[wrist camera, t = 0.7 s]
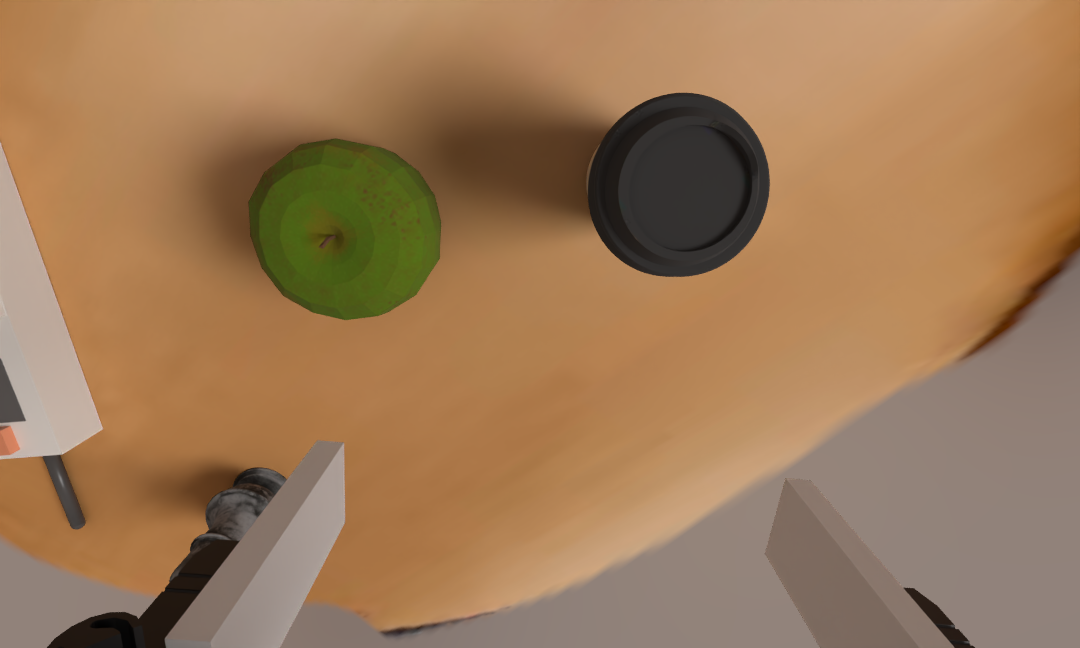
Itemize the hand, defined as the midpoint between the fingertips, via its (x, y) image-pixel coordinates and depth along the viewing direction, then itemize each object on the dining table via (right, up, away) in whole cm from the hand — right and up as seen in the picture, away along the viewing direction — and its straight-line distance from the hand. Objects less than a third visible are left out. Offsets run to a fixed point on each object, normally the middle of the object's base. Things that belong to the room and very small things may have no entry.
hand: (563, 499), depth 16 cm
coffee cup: (+6, +16, +23) cm, 29 cm away
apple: (-13, +13, +24) cm, 30 cm away
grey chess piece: (-25, -10, +31) cm, 41 cm away
